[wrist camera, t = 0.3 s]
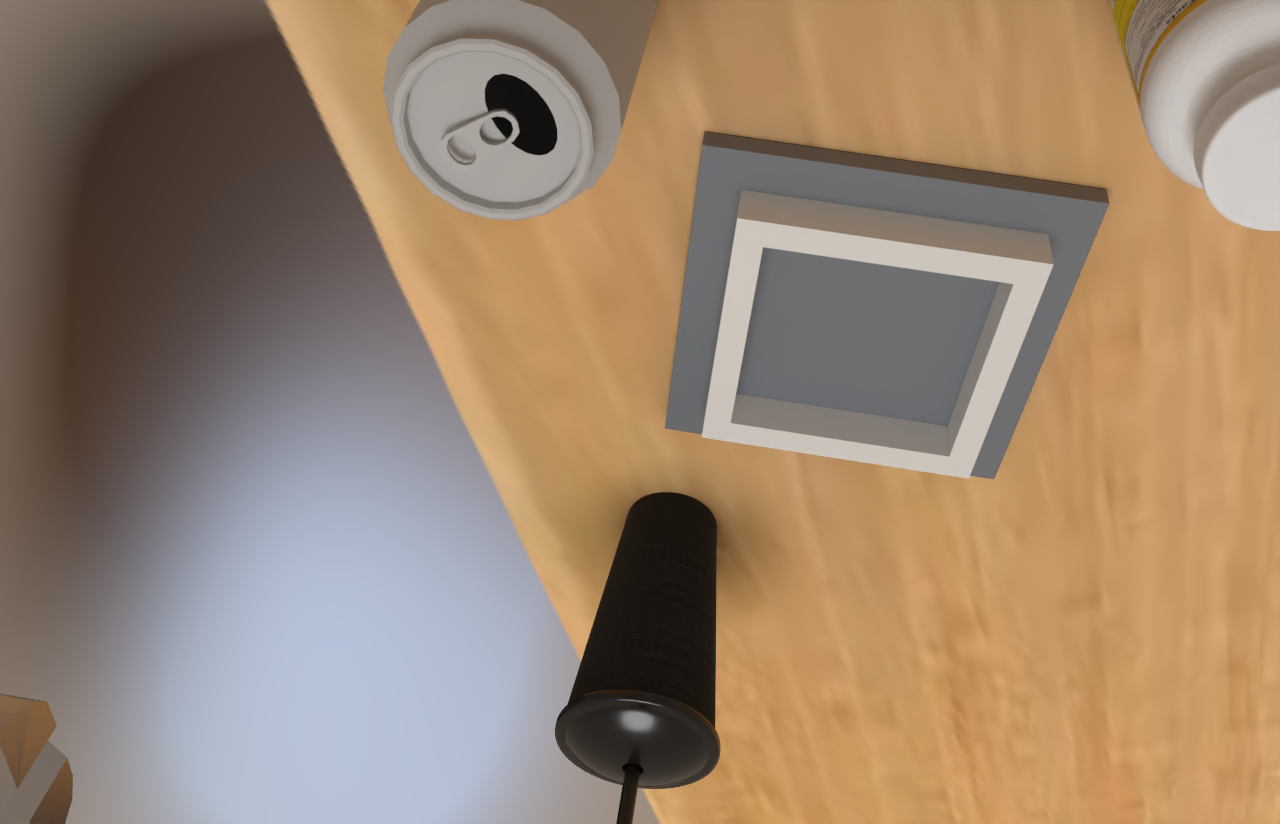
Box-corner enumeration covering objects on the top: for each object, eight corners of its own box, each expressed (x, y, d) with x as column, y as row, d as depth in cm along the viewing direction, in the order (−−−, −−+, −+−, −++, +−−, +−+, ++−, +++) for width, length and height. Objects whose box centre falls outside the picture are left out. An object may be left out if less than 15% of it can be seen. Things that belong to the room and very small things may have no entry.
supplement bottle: (1330, 1, 42) (1454, 215, 33) (1131, 76, 45) (1195, 293, 36) (1291, -181, 39) (1419, 3, 30) (1078, -87, 42) (1134, 108, 32)
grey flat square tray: (705, 131, 49) (697, 172, 47) (1105, 189, 49) (1116, 233, 46) (667, 414, 60) (659, 457, 58) (992, 464, 60) (996, 510, 58)
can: (699, 10, 46) (658, 191, 37) (533, 89, 49) (461, 271, 40) (596, -178, 42) (523, -23, 33) (423, -79, 45) (316, 85, 36)
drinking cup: (714, 462, 62) (666, 828, 48) (762, 557, 67) (730, 916, 53) (579, 486, 65) (495, 840, 51) (633, 576, 70) (571, 923, 55)
